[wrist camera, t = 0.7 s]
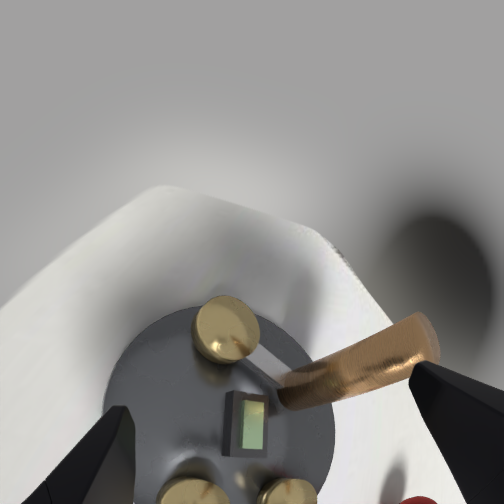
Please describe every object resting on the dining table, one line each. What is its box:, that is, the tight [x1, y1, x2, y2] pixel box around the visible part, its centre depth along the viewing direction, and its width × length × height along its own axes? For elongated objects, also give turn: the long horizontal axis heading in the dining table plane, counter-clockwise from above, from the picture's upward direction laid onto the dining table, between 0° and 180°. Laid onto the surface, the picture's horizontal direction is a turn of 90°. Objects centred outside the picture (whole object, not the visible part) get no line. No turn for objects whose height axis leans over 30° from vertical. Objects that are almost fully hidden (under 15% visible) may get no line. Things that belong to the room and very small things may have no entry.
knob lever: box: [191, 296, 440, 411], centre depth 19 cm, size 12×5×13 cm, turn 60°
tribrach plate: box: [101, 306, 335, 504], centre depth 19 cm, size 20×20×3 cm
